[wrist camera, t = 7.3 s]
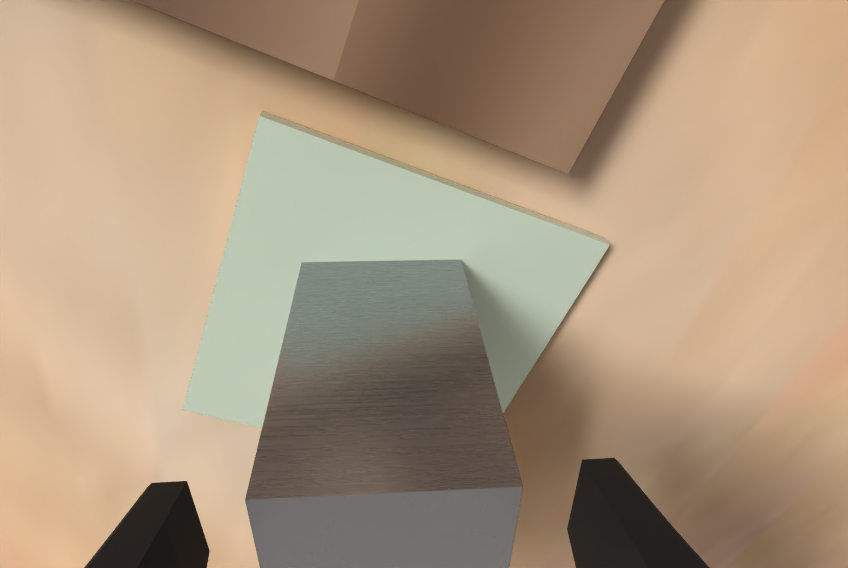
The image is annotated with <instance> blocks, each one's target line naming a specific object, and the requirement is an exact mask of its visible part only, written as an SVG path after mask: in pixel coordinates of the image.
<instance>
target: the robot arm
mask: <svg viewBox="0 0 848 568" xmlns="http://www.w3.org/2000/svg"><path fill="white" fill-rule="evenodd" d="M567 530H568V534H569V539H570V543H571V547H572V552H573V556H574V561H575V565H576V568H709V567H708V566H707V564H706V563H705V562H704V561H703V560H702V559H701V558H700V557H699V556H698V554H697V553H696V552H695V551H694V550H693V549H692V548H691V547H690V546H689V545H688V543H687V542H686V541H685V540H684V539H683V538H682V537H681V536H680V534H679V533H678V532H677V531H676V530H675V529H674V528H673V526H672V525H671V524H670V523H669V522H668V521H667V519H666V518H665V517H664V516H663V515H662V514H661V512H660V511H659V510H658V509H657V508H656V507H655V505H654V504H653V503H652V502H651V501H650V499H649V498H648V497H647V496H646V495H645V493H644V492H643V491H642V490H641V489H640V487H639V486H638V485H637V484H636V483H635V481H634V480H633V479H632V478H631V476H630V475H629V474H628V473H627V472H626V470H625V469H624V468H623V467H622V465H621V464H620V463H619V462H618V461H617V460H616V459H615V458H606V459H587V460H582V463H581V468H580V473H579V477H578V482H577V487H576V491H575V496H574V500H573V505H572V510H571V514H570V519H569V524H568V528H567ZM208 557H209V548H208V545H207V542H206V539H205V536H204V533H203V529H202V526H201V523H200V520H199V517H198V514H197V511H196V508H195V505H194V502H193V499H192V496H191V492H190V489H189V486H188V483H187V481H179V482H161V483H151V484H150V485H149V486H148V487H147V488H146V490H145V491H144V492H143V493H142V495H141V496H140V497H139V499H138V500H137V501H136V503H135V504H134V505H133V506H132V508H131V509H130V510H129V512H128V513H127V514H126V515H125V517H124V518H123V519H122V521H121V522H120V523H119V525H118V526H117V527H116V528H115V530H114V531H113V532H112V533H111V535H110V536H109V537H108V539H107V540H106V541H105V542H104V544H103V545H102V546H101V547H100V549H99V550H98V551H97V552H96V554H95V555H94V556H93V558H92V559H91V560H90V561H89V563H88V564H87V565H86V566H85V567H84V568H207V562H208Z"/></svg>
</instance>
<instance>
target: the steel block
mask: <svg viewBox="0 0 848 568" xmlns="http://www.w3.org/2000/svg"><path fill="white" fill-rule="evenodd" d="M522 489H523V486H522V482H521V478H520V475H519V471H518V467H517V464H516V460H515V456H514V453H513V449H512V445H511V441H510V438H509V434H508V430H507V427H506V423H505V419H504V416H503V412H502V408H501V405H500V401H499V397H498V394H497V390H496V386H495V383H494V379H493V375H492V372H491V368H490V364H489V361H488V357H487V353H486V350H485V346H484V342H483V339H482V335H481V331H480V328H479V324H478V320H477V317H476V313H475V309H474V306H473V302H472V298H471V295H470V291H469V287H468V284H467V280H466V276H465V273H464V269H463V265H462V262H461V260H402V261H341V262H302V263H301V267H300V271H299V275H298V279H297V284H296V288H295V292H294V296H293V300H292V305H291V309H290V313H289V317H288V322H287V326H286V330H285V334H284V338H283V343H282V347H281V351H280V355H279V360H278V364H277V368H276V372H275V376H274V381H273V385H272V389H271V393H270V397H269V402H268V406H267V410H266V414H265V419H264V423H263V427H262V431H261V435H260V440H259V444H258V448H257V452H256V457H255V461H254V465H253V469H252V473H251V478H250V482H249V486H248V490H247V495H246V499H245V501H246V506H247V510H248V515H249V519H250V524H251V528H252V533H253V538H254V542H255V547H256V551H257V556H258V561H259V565H260V568H509V566H510V560H511V554H512V548H513V542H514V536H515V530H516V524H517V518H518V512H519V507H520V501H521V495H522Z"/></svg>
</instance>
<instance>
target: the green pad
mask: <svg viewBox="0 0 848 568" xmlns="http://www.w3.org/2000/svg"><path fill="white" fill-rule="evenodd" d="M609 246H610V244H609V243H608V242H607V241H606V239H605V238H603V237H600V236H598V235H595V234H592V233H589V232H587V231H584V230H581V229H579V228H576V227H573V226H571V225H568V224H565V223H563V222H560V221H557V220H554V219H552V218H549V217H546V216H544V215H541V214H538V213H536V212H533V211H530V210H528V209H525V208H522V207H519V206H517V205H514V204H511V203H509V202H506V201H503V200H501V199H498V198H495V197H493V196H490V195H487V194H484V193H482V192H479V191H476V190H474V189H471V188H468V187H466V186H463V185H460V184H458V183H455V182H452V181H449V180H447V179H444V178H441V177H439V176H436V175H433V174H431V173H428V172H425V171H423V170H420V169H417V168H414V167H412V166H409V165H406V164H404V163H401V162H398V161H396V160H393V159H390V158H388V157H385V156H382V155H379V154H377V153H374V152H371V151H369V150H366V149H363V148H361V147H358V146H355V145H353V144H350V143H347V142H344V141H342V140H339V139H336V138H334V137H331V136H328V135H326V134H323V133H320V132H318V131H315V130H312V129H309V128H307V127H304V126H301V125H299V124H296V123H293V122H291V121H288V120H285V119H282V118H280V117H277V116H274V115H272V114H269V113H266V112H264V111H262V113H261V114H260V116H259V120H258V123H257V127H256V131H255V135H254V139H253V143H252V146H251V150H250V154H249V158H248V162H247V166H246V169H245V173H244V177H243V181H242V185H241V189H240V192H239V196H238V200H237V204H236V208H235V212H234V215H233V219H232V223H231V227H230V231H229V235H228V238H227V242H226V246H225V250H224V254H223V258H222V262H221V265H220V269H219V273H218V277H217V281H216V285H215V288H214V292H213V296H212V300H211V304H210V308H209V311H208V315H207V319H206V323H205V327H204V331H203V334H202V338H201V342H200V346H199V350H198V354H197V357H196V361H195V365H194V369H193V373H192V377H191V380H190V384H189V388H188V392H187V396H186V400H185V404H184V407H183V410H184V411H188V412H192V413H197V414H201V415H206V416H210V417H215V418H219V419H223V420H228V421H232V422H237V423H241V424H246V425H250V426H254V427H259V428H262V427H263V423H264V419H265V414H266V410H267V406H268V402H269V397H270V393H271V389H272V385H273V381H274V376H275V372H276V368H277V364H278V360H279V355H280V351H281V347H282V343H283V338H284V334H285V330H286V326H287V322H288V317H289V313H290V309H291V305H292V300H293V296H294V292H295V288H296V284H297V279H298V275H299V271H300V267H301V263H302V262H341V261H402V260H461V262H462V265H463V269H464V273H465V276H466V280H467V284H468V287H469V291H470V295H471V298H472V302H473V306H474V309H475V313H476V317H477V320H478V324H479V328H480V331H481V335H482V339H483V342H484V346H485V350H486V353H487V357H488V361H489V364H490V368H491V372H492V375H493V379H494V383H495V386H496V390H497V394H498V397H499V401H500V405H501V408H502V412H503V413H504V411H505V410H506V408H507V407H508V405H509V404H510V402H511V400H512V399H513V397H514V396H515V394H516V393H517V391H518V389H519V388H520V386H521V385H522V383H523V381H524V380H525V378H526V377H527V375H528V374H529V372H530V370H531V369H532V367H533V366H534V364H535V363H536V361H537V359H538V358H539V356H540V355H541V353H542V351H543V350H544V348H545V347H546V345H547V344H548V342H549V340H550V339H551V337H552V336H553V334H554V333H555V331H556V329H557V328H558V326H559V325H560V323H561V321H562V320H563V318H564V317H565V315H566V314H567V312H568V310H569V309H570V307H571V306H572V304H573V303H574V301H575V299H576V298H577V296H578V295H579V293H580V291H581V290H582V288H583V287H584V285H585V284H586V282H587V280H588V279H589V277H590V276H591V274H592V273H593V271H594V269H595V268H596V266H597V265H598V263H599V261H600V260H601V258H602V257H603V255H604V254H605V252H606V250H607V249H608V247H609Z"/></svg>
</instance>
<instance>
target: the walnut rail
mask: <svg viewBox="0 0 848 568" xmlns="http://www.w3.org/2000/svg"><path fill="white" fill-rule="evenodd" d="M132 1H135V2H137V3H140V4H142V5H145V6H147V7H150V8H152V9H155V10H157V11H160V12H162V13H165V14H167V15H170V16H172V17H175V18H177V19H180V20H182V21H185V22H187V23H190V24H192V25H195V26H197V27H200V28H202V29H205V30H207V31H210V32H212V33H215V34H217V35H220V36H222V37H225V38H227V39H230V40H232V41H235V42H237V43H240V44H242V45H245V46H248V47H250V48H253V49H255V50H258V51H260V52H263V53H265V54H268V55H270V56H273V57H275V58H278V59H280V60H283V61H285V62H288V63H290V64H293V65H295V66H298V67H300V68H303V69H305V70H308V71H310V72H313V73H315V74H318V75H320V76H323V77H325V78H328V79H330V80H333V81H335V82H338V83H340V84H343V85H345V86H348V87H350V88H353V89H355V90H358V91H361V92H363V93H366V94H368V95H371V96H373V97H376V98H378V99H381V100H383V101H386V102H388V103H391V104H393V105H396V106H398V107H401V108H403V109H406V110H408V111H411V112H413V113H416V114H418V115H421V116H423V117H426V118H428V119H431V120H433V121H436V122H438V123H441V124H443V125H446V126H448V127H451V128H453V129H456V130H458V131H461V132H463V133H466V134H468V135H471V136H474V137H476V138H479V139H481V140H484V141H486V142H489V143H491V144H494V145H496V146H499V147H501V148H504V149H506V150H509V151H511V152H514V153H516V154H519V155H521V156H524V157H526V158H529V159H531V160H534V161H536V162H539V163H541V164H544V165H546V166H549V167H551V168H554V169H556V170H559V171H561V172H564V173H566V174H568V173H569V172H570V170H571V168H572V166H573V164H574V163H575V161H576V159H577V157H578V155H579V154H580V152H581V150H582V148H583V146H584V145H585V143H586V141H587V139H588V137H589V135H590V134H591V132H592V130H593V128H594V126H595V125H596V123H597V121H598V119H599V117H600V116H601V114H602V112H603V110H604V108H605V107H606V105H607V103H608V101H609V99H610V98H611V96H612V94H613V92H614V90H615V89H616V87H617V85H618V83H619V81H620V80H621V78H622V76H623V74H624V72H625V71H626V69H627V67H628V65H629V63H630V62H631V60H632V58H633V56H634V54H635V53H636V51H637V49H638V47H639V45H640V44H641V42H642V40H643V38H644V36H645V35H646V33H647V31H648V29H649V27H650V25H651V24H652V22H653V20H654V18H655V16H656V15H657V13H658V11H659V9H660V7H661V6H662V4H663V2H664V0H132Z"/></svg>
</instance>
